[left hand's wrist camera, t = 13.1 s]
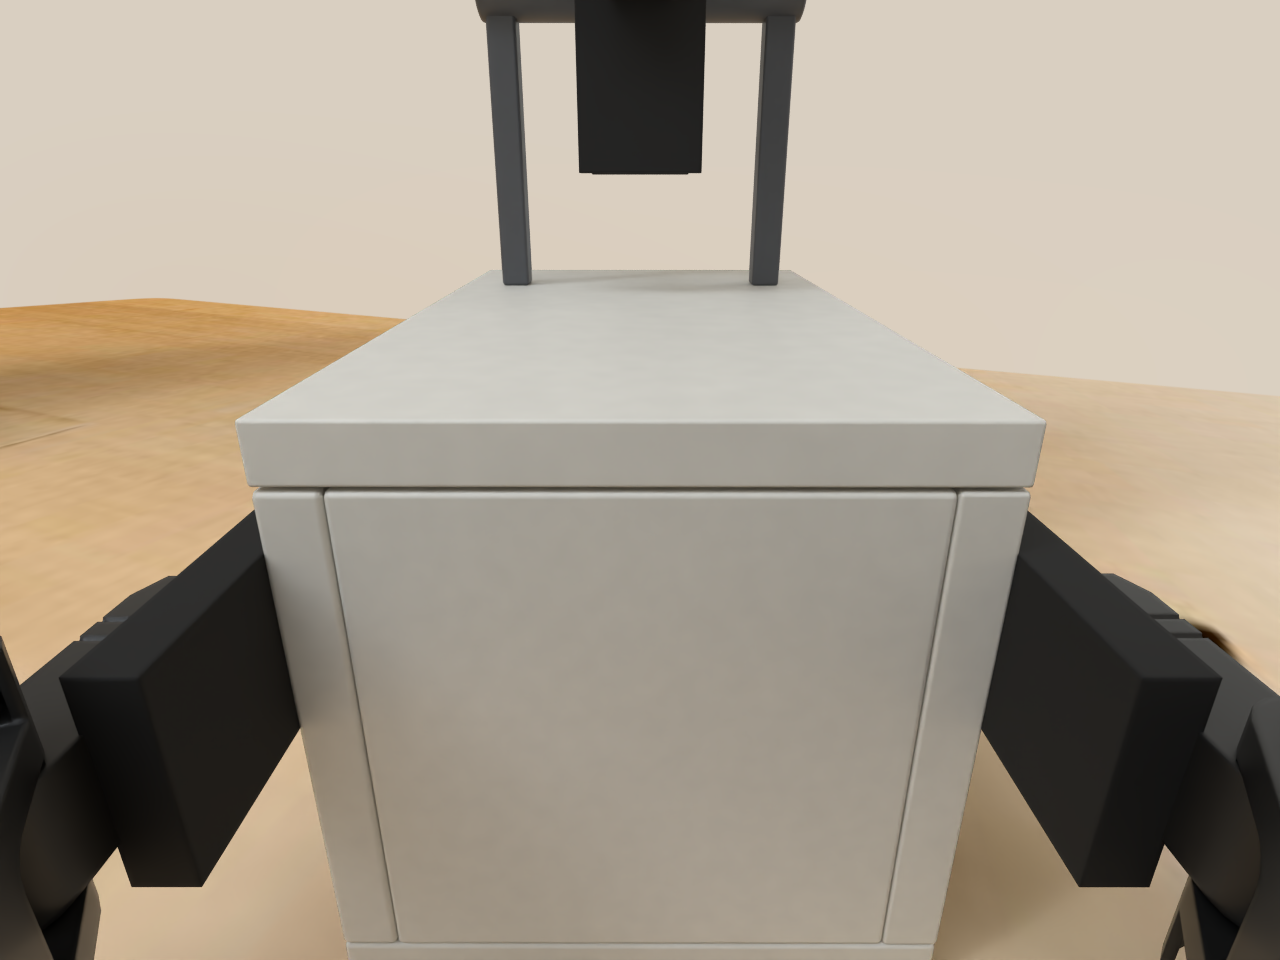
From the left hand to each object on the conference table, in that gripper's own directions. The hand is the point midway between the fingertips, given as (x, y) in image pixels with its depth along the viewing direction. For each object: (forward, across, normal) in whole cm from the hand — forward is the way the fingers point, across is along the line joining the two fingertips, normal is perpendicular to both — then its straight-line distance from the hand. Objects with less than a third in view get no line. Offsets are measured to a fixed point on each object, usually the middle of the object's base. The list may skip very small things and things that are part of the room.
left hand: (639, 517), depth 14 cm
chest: (+3, 0, -6) cm, 7 cm away
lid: (+4, 0, +2) cm, 4 cm away
